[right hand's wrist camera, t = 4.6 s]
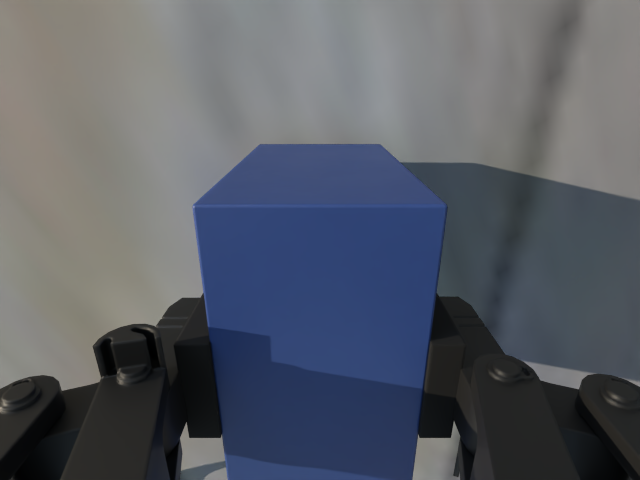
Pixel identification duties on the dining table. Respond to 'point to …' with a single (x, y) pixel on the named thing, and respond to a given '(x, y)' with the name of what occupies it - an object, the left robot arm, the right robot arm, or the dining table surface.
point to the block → (320, 310)
